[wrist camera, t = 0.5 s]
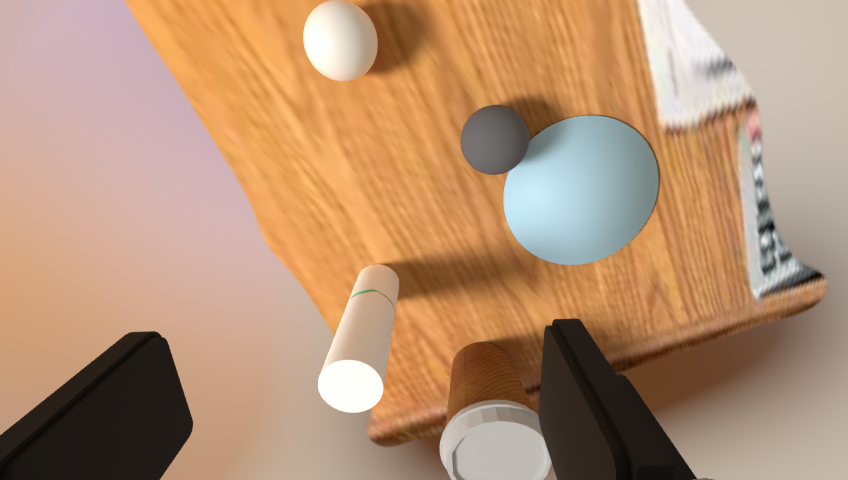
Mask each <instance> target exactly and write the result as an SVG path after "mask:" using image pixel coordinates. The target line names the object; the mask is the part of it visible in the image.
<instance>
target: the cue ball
mask: <svg viewBox="0 0 848 480" xmlns="http://www.w3.org/2000/svg"><path fill="white" fill-rule="evenodd" d="M303 40H304V47H305V51H306V53H307V56H308V58H309V60H310V61H311V63H312V64H313V66H314V67H315V68H316V69H317V70H318V71H319V72H320V73H322V74H323V75H324V76H326V77H328V78H330V79H333V80H336V81H352V80H355V79H357V78H360V77H361V76H363V75H364V74H365V73H367V72H368V70H369V69H370V68H371V67H372V65H373V63H374V61H375V59H376V56H377V51H378V38H377V33H376V30H375V27H374V25H373V23H372V21H371V19H370V18H369V16H368V15H367V14H366V13H365V12H364V11H363V10H362V9H361V8H360V7H358V6H357V5H355V4H353V3H351V2H348V1H345V0H330V1H327V2H324V3H322V4H320V5H319V6H317V7H316V8H315V9H314V10H313V11H312V12H311V14H310V15H309V17H308V19H307V21H306V23H305V27H304V33H303Z"/></svg>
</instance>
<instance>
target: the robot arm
mask: <svg viewBox="0 0 848 480" xmlns="http://www.w3.org/2000/svg"><path fill="white" fill-rule="evenodd" d="M539 423H540V428H541V431H542V434H543V437H544V440H545V443H546V446H547V450H548V453H549V456H550V459H551V462H552V465H553V467H554V471H555V474H556V477H557V480H713V479H707V478H703V479H697V478H696V477H695V475H694V474H693V472H692V471H691V469H690V468H689V466H688V465H687V464H686V462H685V461H684V459H683V458H682V456H681V455H680V454H679V452H678V451H677V449H676V448H675V446H674V445H673V443H672V442H671V440H670V439H669V437H668V436H667V435H666V433H665V432H664V430H663V429H662V427H661V426H660V425H659V423H658V422H657V421H656V419H655V417H654V416H653V414H652V413H651V411H650V410H649V409H648V407H647V406H646V404H645V403H644V401H643V400H642V398H641V397H640V395H639V394H638V393H637V391H636V390H635V388H634V387H633V385H632V384H631V382H630V381H629V380H628V379H627V378H626V376H624V375H622V374H615V372H614V371H613V369H612V368H611V366H610V365H609V363H608V362H607V360H606V359H605V357H604V356H603V354H602V353H601V351H600V349H599V348H598V346H597V345H596V343H595V342H594V340H593V339H592V337H591V336H590V334H589V333H588V331H587V330H586V328H585V327H584V325H583V324H582V322H581V321H580V320H579V319H555V320H554V321H553V323H552V326H546V327H545V332H544V346H543V359H542V372H541V386H540V399H539ZM192 428H193V420H192V417H191V414H190V411H189V408H188V404H187V401H186V398H185V395H184V392H183V389H182V386H181V382H180V379H179V376H178V373H177V370H176V367H175V364H174V361H173V357H172V354H171V351H170V348H169V345H168V342H167V340H166V339H165V338H163V337H161V335H160V334H159V333H158V332H154V331H153V332H131V333H128V334H126V335H125V336H124V337H122V338H121V339H120V340H119V341H117V342H116V343H115V344H113V346H111V347H110V348H108V349H107V350H106V351H105V352H104V353H102V354H101V355H100V356H99V357H97V358H96V359H95V360H94V361H92V362H91V363H90V364H89V365H87V366H86V367H85V368H84V369H82V370H81V371H80V372H79V373H77V374H76V375H75V376H74V377H72V378H71V379H70V380H69V381H67V382H66V383H65V384H64V385H63V386H61V387H60V388H59V389H57V390H56V391H55V392H54V393H52V394H51V395H50V396H49V397H47V398H46V399H45V400H44V401H42V402H41V403H40V404H39V405H38V406H36V407H35V408H34V409H33V410H31V411H30V412H29V413H28V414H26V415H25V416H24V417H23V418H21V419H20V420H19V421H18V422H16V423H15V424H14V425H13V426H11V427H10V428H9V429H8V430H6V431H5V432H4V433H3V434H1V435H0V480H160V478H161V477H162V476H163V474H164V473H165V471H166V470H167V468H168V467H169V465H170V464H171V463H172V461H173V460H174V458H175V457H176V455H177V454H178V452H179V451H180V450H181V448H182V447H183V445H184V444H185V442H186V441H187V439H188V438H189V436H190V434H191V432H192Z"/></svg>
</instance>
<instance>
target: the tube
mask: <svg viewBox="0 0 848 480" xmlns="http://www.w3.org/2000/svg"><path fill="white" fill-rule="evenodd" d="M399 285H400V284H399V278H398V276H397V274H396V273H395V272H394V271H393V270H392V269H391V268H389V267H388V266H385V265H381V264H374V265H370V266H368V267H366V268H364V269H363V270H362V271H361V272H360V274H359V276H358V278H357V281H356V284H355V286H354V289H353V291H352V294H351V296H350V299H349V301H348V304H347V307H346V309H345V312H344V314H343V317H342V319H341V322H340V325H339V327H338V330H337V332H336V335H335V338H334V340H333V343H332V345H331V348H330V350H329V353H328V356H327V358H326V361H325V363H324V366H323V368H322V371H321V374H320V376H319V380H318V389H319V392H320V394H321V396H322V398H323V399H324V400H325V401H326V402H327V403H328V404H329V405H330V406H332V407H334V408H336V409H338V410H340V411H344V412H351V413H352V412H362V411H365V410H368V409H370V408H372V407H373V406H375V405H376V404H377V403H378V401H379V400H380V399H381V396H382V394H383V387H384V381H385V375H386V368H387V362H388V356H389V349H390V343H391V337H392V330H393V324H394V317H395V311H396V305H397V298H398V292H399Z"/></svg>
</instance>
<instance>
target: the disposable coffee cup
mask: <svg viewBox="0 0 848 480" xmlns="http://www.w3.org/2000/svg"><path fill="white" fill-rule="evenodd" d="M440 455H441V460H442V462H443V464H444V466H445V468H446V469H447V471H448V473H449V476H450V478H451V479H452V480H543V479H544V478H545V477H546V476H547V474H548V471H549V469H550V466H551V463H552V462H551V459H550V456H549V453H548V450H547V446H546V443H545V440H544V437H543V434H542V431H541V428H540V423H539V416H538V415H537V413H536V411H535V410H534V408H533V406H532V403H531V402H530V400H529V398H528V396H527V394H526V392H525V390H524V388H523V386H522V384H521V382H520V380H519V378H518V376H517V374H516V372H515V370H514V368H513V366H512V364H511V362H510V361H509V358H508V356H507V354H506V353H505V352H504V351H503V350H502V349H501V348H499V347H498V346H496V345H493V344H490V343H474V344H471V345H468V346H466V347H464V348H463V349H462V350H461V351H459V352H458V353H457V355H456V356H455V358H454V360H453V364H452V374H451V384H450V393H449V402H448V411H447V422H446V428H445V430H444V432H443V434H442V438H441V441H440Z"/></svg>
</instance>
